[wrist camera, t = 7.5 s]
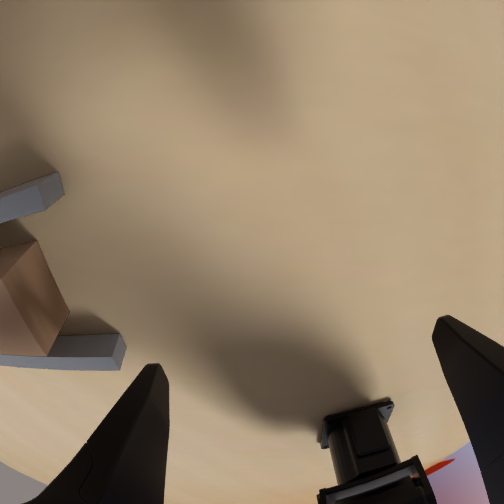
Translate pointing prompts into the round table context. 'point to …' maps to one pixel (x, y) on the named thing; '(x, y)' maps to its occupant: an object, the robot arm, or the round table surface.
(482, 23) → the round table surface
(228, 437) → the round table surface
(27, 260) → the walnut block
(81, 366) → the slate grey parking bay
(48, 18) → the round table surface
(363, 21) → the round table surface
